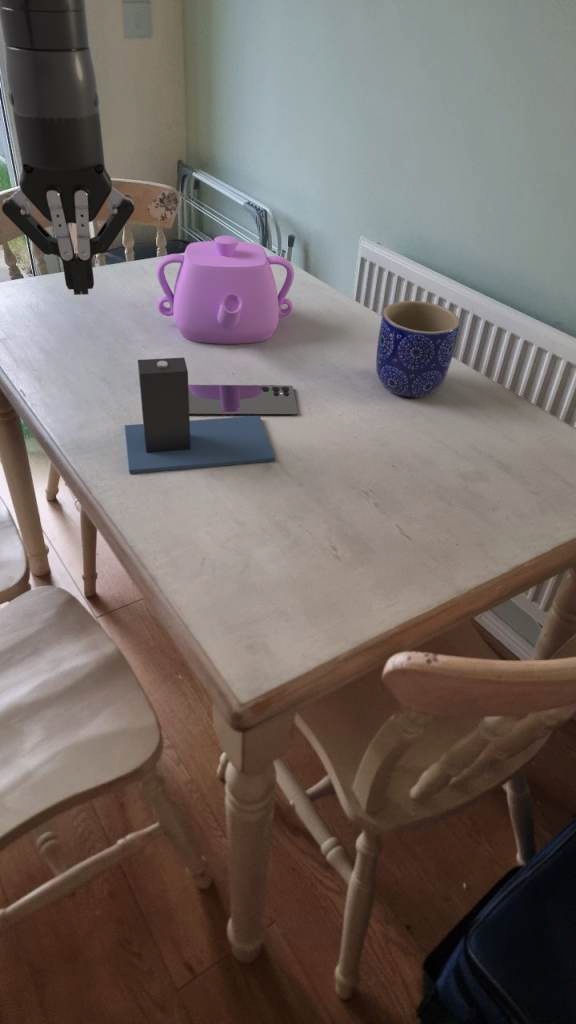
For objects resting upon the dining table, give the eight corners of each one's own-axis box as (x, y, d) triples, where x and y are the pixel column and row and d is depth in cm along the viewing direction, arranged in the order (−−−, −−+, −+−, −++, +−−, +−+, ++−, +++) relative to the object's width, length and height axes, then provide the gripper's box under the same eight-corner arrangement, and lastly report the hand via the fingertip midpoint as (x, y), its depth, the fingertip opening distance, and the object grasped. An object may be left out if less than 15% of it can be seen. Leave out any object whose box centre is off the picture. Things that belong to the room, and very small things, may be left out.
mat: (129, 474, 84) (129, 470, 83) (125, 428, 91) (124, 425, 91) (274, 461, 87) (275, 457, 87) (259, 419, 95) (259, 415, 94)
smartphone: (182, 384, 100) (292, 383, 101) (182, 387, 100) (292, 387, 102) (180, 412, 94) (297, 411, 96) (181, 416, 94) (297, 414, 96)
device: (146, 453, 86) (139, 371, 79) (144, 437, 89) (137, 357, 82) (190, 449, 87) (187, 369, 80) (187, 434, 90) (184, 354, 83)
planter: (401, 362, 110) (414, 294, 103) (458, 389, 105) (475, 319, 97) (356, 383, 104) (366, 312, 97) (414, 413, 98) (429, 340, 91)
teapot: (230, 293, 127) (230, 211, 118) (314, 332, 117) (321, 246, 107) (145, 321, 116) (139, 234, 107) (230, 367, 106) (230, 275, 96)
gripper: (128, 99, 67) (142, 276, 78) (-19, 95, 64) (17, 280, 75) (133, 115, 61) (147, 304, 72) (-27, 112, 58) (13, 309, 69)
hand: (81, 291), depth 73 cm, fingers closed
